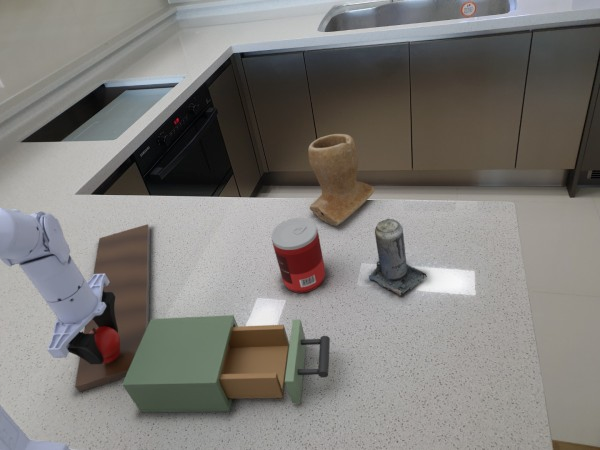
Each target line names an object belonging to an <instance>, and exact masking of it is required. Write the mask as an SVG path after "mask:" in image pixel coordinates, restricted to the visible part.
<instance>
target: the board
mask: <svg viewBox="0 0 600 450" xmlns="http://www.w3.org/2000/svg"><path fill="white" fill-rule="evenodd" d="M97 245H98V246H97V250H96V256H95V263H94V269H93V275H94V274H105V275H106V276H107V278H108V280H109V281H110V282H109V284H108V286H106V287H103V291H104V292H113V294H114V295H115V304H114V311H115V318H116V323H117V327H118V334H119V337H120V349H121V351H120V354H119V356H118V357H117V358H116V359H115V360H113V361H111V362H109V363H102V364H90V363H88V362H87V361H85V360H84V359H82V358H81V357H79V360H78V367H77V373H76V379H75V385H74V388H75V389H76V390H77V391H78V392H79V393H82V392H84V391H88V390H91V389H94V388H96V387H99V386H103V385H107V384H109V383H112V382H115V381H118V380H121V379H122V380H123V379H125V377H126V374H127V372H128V370H129V367H130V365H131V363H132V361H133V358H134V356H135V354H136V352H137V349H138V347H139V345H140V343H141V340H142V338H143V336H144V333H145V331H146V329H147V327H148V324H149V322H150V276H151V275H150V271H151V270H150V269H151V268H150V265H151V229H150V226H149V224H143V225H140V226H137V227H133V228H129V229H127V230H123V231H119V232H116V233H113V234H109V235H105V236H102V237H99V238H98V244H97ZM93 275H92V276H93ZM92 328H98V326H97V324H96V323H95V322H94V320H93V319H92V320H91V321H90V322H89V323H88V324H87V325H86V326H85V327H84V328H83V333H84V334H89V333H90V332H91V331H92Z"/></svg>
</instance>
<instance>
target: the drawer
mask: <svg viewBox="0 0 600 450" xmlns="http://www.w3.org/2000/svg"><path fill="white" fill-rule="evenodd" d="M315 345H316V346H318V345H319V352H318V364H317V365H318V366H317V367H318V368H305V359H306V348H307V346H315ZM330 345H331V338H330V336H328V335H322V336H321V337H320V338H306V335H305V331H304V327H303V324H302V319H300V318H299V319H298V318H297V319H292V323H291V329H290V338H289V337H288V334H287V331H286V328H285V325H284V324H267V325H265V324H264V325H263V324H262V325H241V326H239V325H238V327H233V328H232V332H231V336H230V340H229V343H228V347H227V351H226V355H225V359H224V363H223V367H222V371H221V375H220V378H219V383H220V385H221V387H222V389H223V391H224V393H225V395H226V397H227V398H233V399H283V397H284V391H285V387H286V389H287V393H288V396H289V399H290V402H291V404H301V402H302V401H301V400H302V391H303V379H304V376H318V377H320V378H327V377H329V367H330Z"/></svg>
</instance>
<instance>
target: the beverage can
mask: <svg viewBox="0 0 600 450" xmlns="http://www.w3.org/2000/svg"><path fill="white" fill-rule="evenodd" d="M374 235H375V243H376V249H377V256H378V260H377V262H376V268H375V269H373V270H374V271H372V272H371V273H370V274H369V275H368V280H369V281H370V282H371V281H374V282H376V284H378V285H379V286H380V287H381V288H383V289H384V288H386V289H387V291H391V292H393V293H395V294H396V295H397V296H400V297H401V296H402V295H405V294H406V291H407V292H408V291H409V290H412V289H413V288H415V287H417V285H418V284H420V283H421V281H423V280H424V276H425V278H428V276H427V273H425V272H424V271H422V270H419V269H418V268H416V267H413V266H411V265H409V264H407V255H406V246H405V245H406V244H405V236H404V235H405V234H404V228H403V226H402V224H401V223H400V222H399V221H397V220H395V219H393V218H386V219H383V220H382V221H381V220H380V221H379V222H377V225H376V226H375V229H374Z"/></svg>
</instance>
